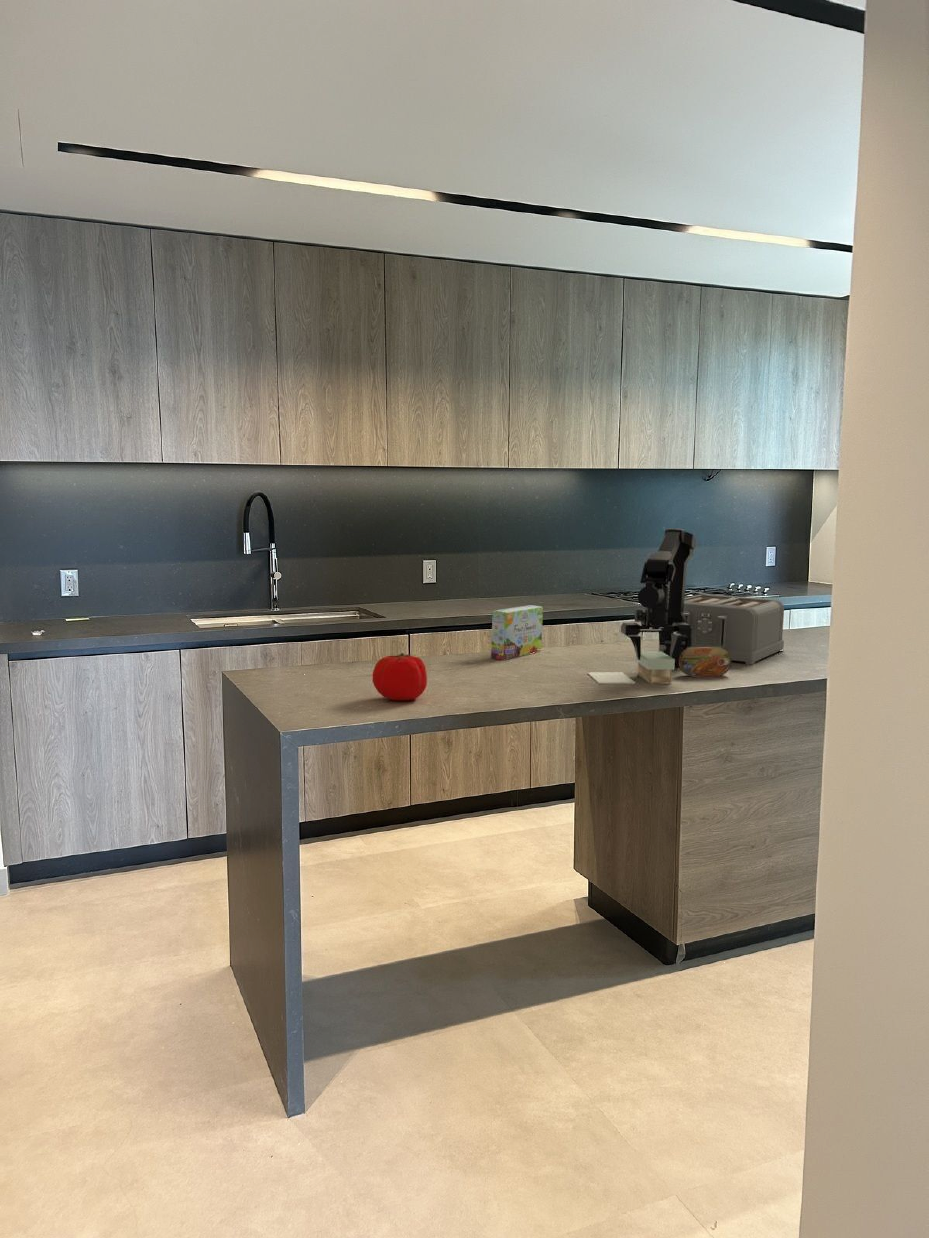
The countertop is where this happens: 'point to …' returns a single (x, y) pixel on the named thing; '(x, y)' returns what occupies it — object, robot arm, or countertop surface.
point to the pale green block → (656, 660)
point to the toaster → (736, 625)
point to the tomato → (400, 677)
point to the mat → (611, 678)
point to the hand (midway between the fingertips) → (655, 659)
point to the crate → (655, 675)
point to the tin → (705, 661)
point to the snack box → (516, 631)
